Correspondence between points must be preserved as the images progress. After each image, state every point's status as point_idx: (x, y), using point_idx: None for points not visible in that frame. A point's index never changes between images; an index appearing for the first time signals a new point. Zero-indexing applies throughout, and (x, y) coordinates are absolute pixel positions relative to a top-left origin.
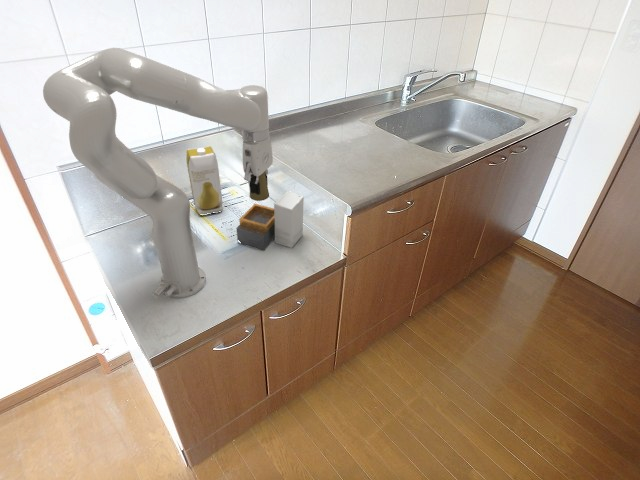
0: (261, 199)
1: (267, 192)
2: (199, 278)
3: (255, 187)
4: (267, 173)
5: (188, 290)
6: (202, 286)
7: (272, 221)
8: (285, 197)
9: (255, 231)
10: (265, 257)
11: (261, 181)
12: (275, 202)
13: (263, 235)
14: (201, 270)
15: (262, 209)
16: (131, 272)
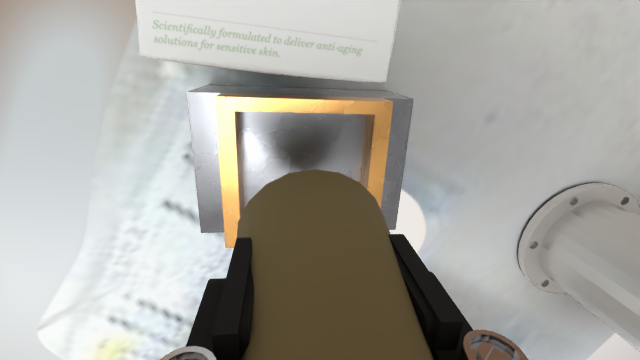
0: (372, 199)
1: (313, 193)
2: (584, 206)
3: (458, 309)
4: (170, 358)
5: (626, 206)
6: (596, 184)
7: (321, 98)
8: (258, 14)
9: (393, 148)
10: (420, 68)
11: (405, 318)
12: (369, 75)
13: (412, 99)
14: (543, 221)
15: (240, 195)
16: (551, 350)
